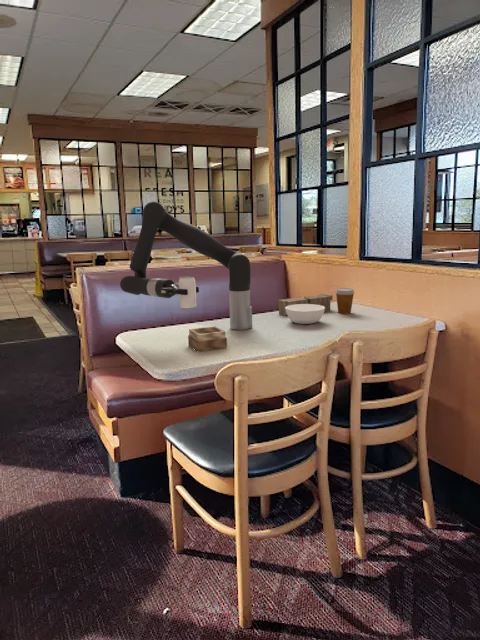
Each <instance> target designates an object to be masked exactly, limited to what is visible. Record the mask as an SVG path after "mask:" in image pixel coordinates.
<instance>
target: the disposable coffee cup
mask: <svg viewBox="0 0 480 640" xmlns="http://www.w3.org/2000/svg"><path fill="white" fill-rule="evenodd" d="M335 294H336V296H335V297H336V305H337V312H338V314H339V315H340V314H341V315H342V314H343V315H347V314H348V315H349V314H351V313H352V308H353V301H354V300H353V299H354V296H355V295H354V294H355V290H354V288H347V287H344V288H342V287H340V288H336V289H335Z"/></svg>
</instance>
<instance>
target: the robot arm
mask: <svg viewBox="0 0 480 640" xmlns="http://www.w3.org/2000/svg"><path fill="white" fill-rule="evenodd" d="M158 230H161V231H163V232H165V233H168V234H169V235H170V236H171V237H173V238H174V239H176V240H177V241H178V242H180V243H182V244H183V245H185V246H186V247H188V248H189V249H192V250H193V251H194V252H196V253H198V254H201V255H203V256H205V257H208V258H210V259H212V260H215V261H217V262H218V263H219V264H221V265H222V266H224V267H225V268H227V269H228V270H229V283H228V290H229V291H228V296H229V325H230V329H231V330H235V331H236V330H237V331H240V330H241V331H243V330H248V329H252V328H253V306H251V290H250V289H251V261H250V259H249V257H247V256H246V255H245V254H243V253H240V252H237V251H235V250H232V249H231V248H229V247H227V246H225V245H223V244H222V243H221V242H220V241H219V240H218V239H216V238H214V236H212V235H211V234H209V233H207V232H206V231H204V230H203V229H202V228H199V227H198V226H195V225H194V224H191V223H189V222H185V221H182V220H181V219H178V218H176V217H174V216H173V215H172V214H170V213H169V212H167V211H166V210H165V207H164V206H163V205H162V204H161V203H160V202H158V201H150V202H147V203H146V204H145V206H144V207H143V209H142V222H141V229H140V231H139V232H140V233H139V237H138V239H137V241H136V244H135V247H134V251H133V253H132V256H131V260H130V263H129V269H130V270H131V271H132V272H133V273H134V275H126V276H123V277H122V278H121V280H120V281H119V287H120V288H121V290H122V291H123V292H125V293H128V294H131V295H135V296H139V295H144V296H150V297H154V298H155V297H156V298H162V299H171V298H172V297H174V296H179V295H188V290H187V289H179V283H175V281H173V280H172V279H169V278H152V277H151V278H149V277H148V278H147V268H148V266H149V265H148V264H149V260H150V257H151V253H152V250H153V245H154V241H155V237H156V235H157V232H158ZM197 293H200V287H199V286H196V294H197Z"/></svg>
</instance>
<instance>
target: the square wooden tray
mask: <svg viewBox="0 0 480 640" xmlns="http://www.w3.org/2000/svg"><path fill="white" fill-rule="evenodd" d="M188 333H189V335H190V336H191V337H192V338H194V339H195V340H197V341H206V340H214V339H222V338H227V337H226V331H225V330H223V329H221V328H220V327H217V326H216V325H212V326H204V327H195V328H189V329H188Z"/></svg>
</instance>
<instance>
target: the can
mask: <svg viewBox="0 0 480 640" xmlns="http://www.w3.org/2000/svg"><path fill="white" fill-rule="evenodd" d="M178 284H179V289H187V290H188V295H178V299H179V308H180V309H182V310H191V309H195V308H197V293H196V287H197V285H196V279H195V276H193V275H182V276H179V280H178Z"/></svg>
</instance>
